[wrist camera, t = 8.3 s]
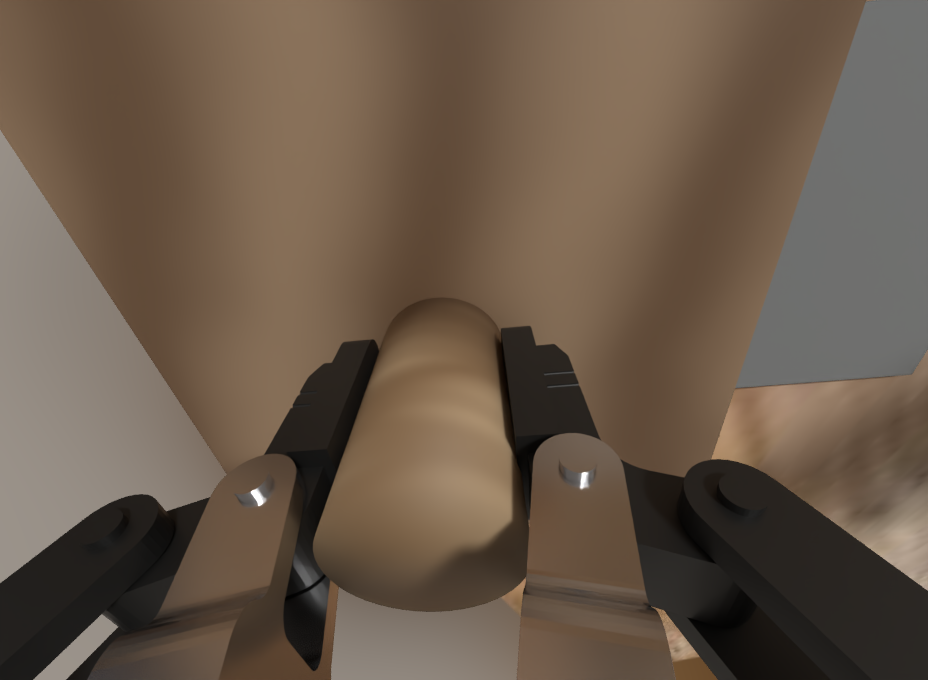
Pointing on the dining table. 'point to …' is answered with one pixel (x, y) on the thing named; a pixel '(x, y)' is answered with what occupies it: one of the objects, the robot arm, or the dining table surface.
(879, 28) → the mat
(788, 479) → the dining table surface
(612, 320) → the lid
